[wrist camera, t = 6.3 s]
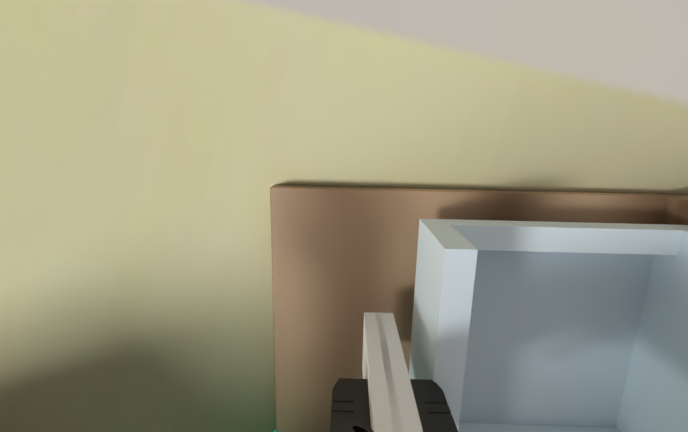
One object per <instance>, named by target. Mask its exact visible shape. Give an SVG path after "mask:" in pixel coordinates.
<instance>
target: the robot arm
mask: <svg viewBox="0 0 688 432" xmlns="http://www.w3.org/2000/svg"><path fill="white" fill-rule="evenodd" d="M362 373H363V379H348V378H339V379H338V381H337V382H336V384H335V385H334V387H333V389H332V404H331V419H330V432H458V430H457V427H456V424H455V422H454V419H453V416H452V415H451V411H450V408H449V405H448V404H447V400H446V397H445V395H444V392H443V390H442V389H441V388H440V387H439V386H438V384H437V383H436V382H433V380H428V379H410V378H409V374H408V370H407V366H406V362H405V358H404V354H403V350H402V346H401V342H400V338H399V334H398V330H397V326H396V322H395V318H394V314H393V313H374V312H364V327H363V359H362Z"/></svg>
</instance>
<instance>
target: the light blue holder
mask: <svg viewBox="0 0 688 432" xmlns="http://www.w3.org/2000/svg"><path fill="white" fill-rule="evenodd" d="M409 378H410V379H428V380H433V382H436V383H437V384H438V386H439V387H440V388H441V389H442V390H443V392H444V395H445V397H446V400H447V404H448V405H449V408H450V411H451V415H452V416H453V419H454V422H455V424H456V427H457V430H458V432H688V225H669V224H626V223H584V222H542V221H500V220H458V219H419V233H418V247H417V262H416V276H415V291H414V305H413V320H412V334H411V349H410V363H409Z"/></svg>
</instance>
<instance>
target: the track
mask: <svg viewBox="0 0 688 432" xmlns="http://www.w3.org/2000/svg"><path fill="white" fill-rule="evenodd" d="M270 205H271V243H272V281H273V320H274V358H275V397H276V432H330V419H331V404H332V389H333V387H334V385H335V384H336V382H337V381H338V379H339V378H348V379H363V373H362V359H363V327H364V312H374V313H393V314H394V318H395V322H396V326H397V330H398V334H399V338H400V342H401V346H402V350H403V354H404V358H405V362H406V366H407V370H408V374H409V363H410V349H411V334H412V320H413V305H414V291H415V276H416V262H417V247H418V233H419V219H458V220H500V221H542V222H584V223H626V224H669V225H688V195H682V194H638V193H594V192H549V191H505V190H461V189H416V188H372V187H328V186H284V185H274V186H272V187H270Z"/></svg>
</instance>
